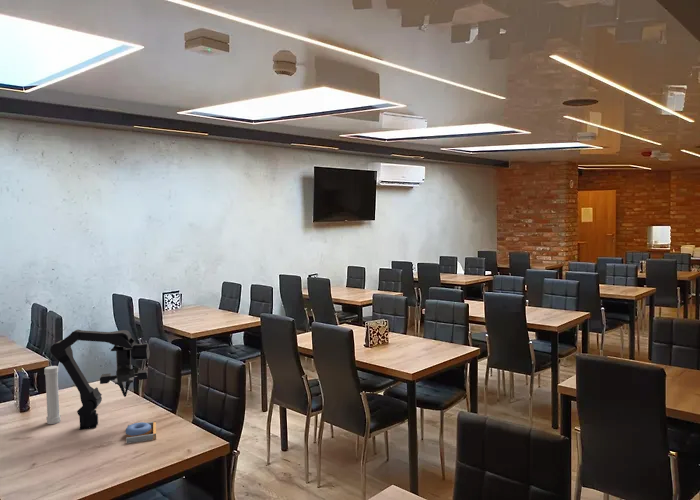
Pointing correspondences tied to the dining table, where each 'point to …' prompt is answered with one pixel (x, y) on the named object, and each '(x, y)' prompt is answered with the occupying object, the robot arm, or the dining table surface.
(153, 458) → the dining table surface
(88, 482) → the dining table surface
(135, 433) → the doughnut
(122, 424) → the dining table surface
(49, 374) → the pipe
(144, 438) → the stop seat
